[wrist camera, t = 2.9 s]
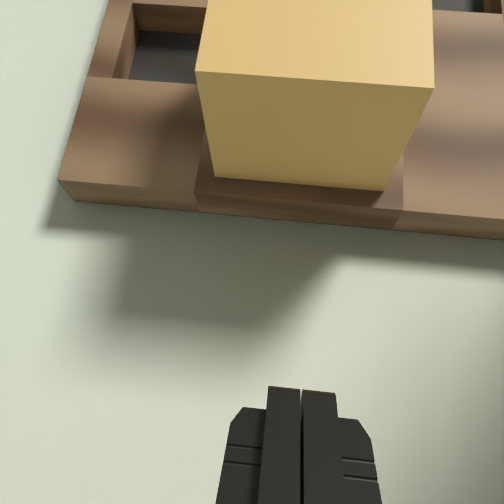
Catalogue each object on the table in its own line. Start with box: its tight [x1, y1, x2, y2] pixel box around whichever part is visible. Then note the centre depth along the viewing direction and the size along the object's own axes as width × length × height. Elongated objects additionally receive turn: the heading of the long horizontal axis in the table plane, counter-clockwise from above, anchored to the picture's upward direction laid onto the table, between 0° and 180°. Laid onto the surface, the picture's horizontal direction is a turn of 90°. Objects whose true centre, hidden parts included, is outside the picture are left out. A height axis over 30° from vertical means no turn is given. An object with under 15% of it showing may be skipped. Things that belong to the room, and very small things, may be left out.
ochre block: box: [195, 0, 435, 191], centre depth 23 cm, size 9×9×8 cm
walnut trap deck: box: [57, 0, 504, 240], centre depth 31 cm, size 27×26×2 cm
